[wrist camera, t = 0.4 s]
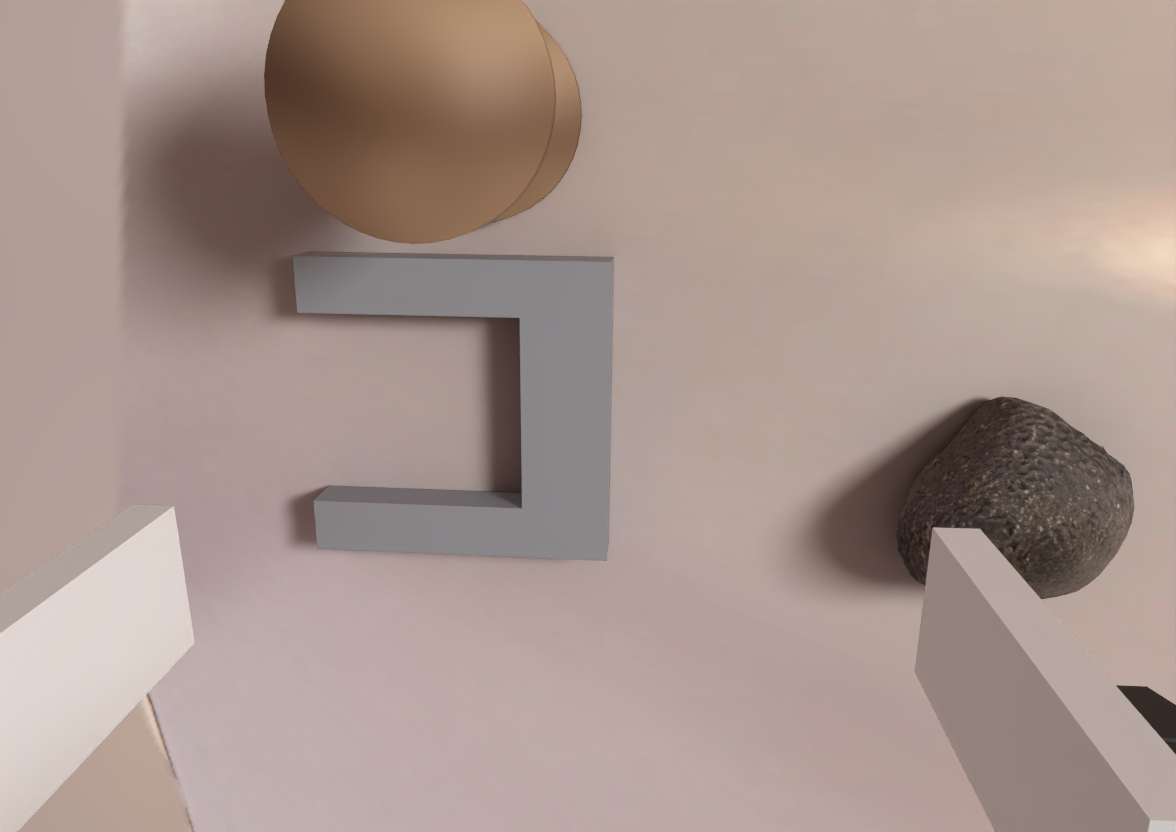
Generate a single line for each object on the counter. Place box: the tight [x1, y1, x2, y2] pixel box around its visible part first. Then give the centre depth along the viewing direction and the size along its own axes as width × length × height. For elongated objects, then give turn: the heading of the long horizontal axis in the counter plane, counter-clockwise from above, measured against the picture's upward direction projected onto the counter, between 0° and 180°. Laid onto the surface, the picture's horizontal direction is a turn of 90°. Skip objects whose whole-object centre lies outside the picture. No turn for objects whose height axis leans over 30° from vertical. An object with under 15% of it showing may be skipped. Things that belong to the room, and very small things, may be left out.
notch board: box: [293, 252, 614, 561], centre depth 40 cm, size 14×14×2 cm
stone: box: [897, 397, 1134, 599], centre depth 39 cm, size 10×8×10 cm
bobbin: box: [264, 0, 582, 244], centre depth 32 cm, size 9×9×11 cm
